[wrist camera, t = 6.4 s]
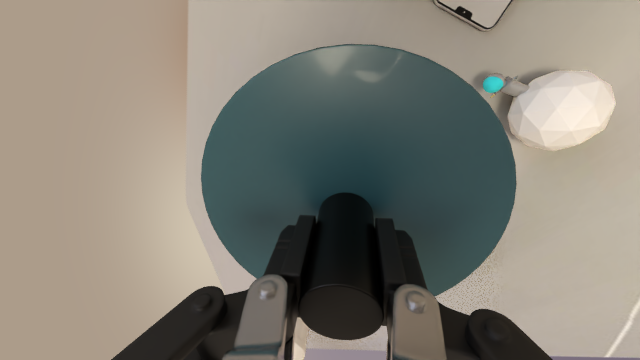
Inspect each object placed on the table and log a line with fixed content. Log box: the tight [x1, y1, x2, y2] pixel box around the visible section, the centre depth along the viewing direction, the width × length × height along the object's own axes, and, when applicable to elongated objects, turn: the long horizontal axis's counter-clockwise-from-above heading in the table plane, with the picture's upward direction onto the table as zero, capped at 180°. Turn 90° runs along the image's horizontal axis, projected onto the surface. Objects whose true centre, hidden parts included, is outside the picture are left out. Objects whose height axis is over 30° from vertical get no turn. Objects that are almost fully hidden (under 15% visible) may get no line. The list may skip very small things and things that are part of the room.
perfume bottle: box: [483, 70, 616, 151], centre depth 26 cm, size 8×8×12 cm
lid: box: [201, 44, 516, 340], centre depth 11 cm, size 16×16×7 cm
